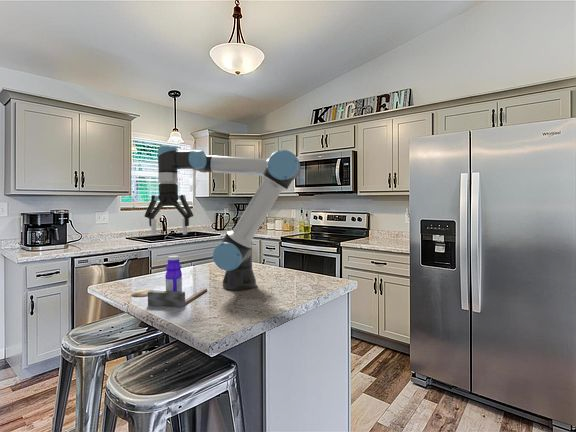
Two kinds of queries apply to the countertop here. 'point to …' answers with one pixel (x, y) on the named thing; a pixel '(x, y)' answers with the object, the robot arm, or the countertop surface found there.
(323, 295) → the countertop surface
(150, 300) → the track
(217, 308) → the countertop surface
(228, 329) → the countertop surface
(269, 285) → the countertop surface
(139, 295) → the cork trivet
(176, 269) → the bottle
